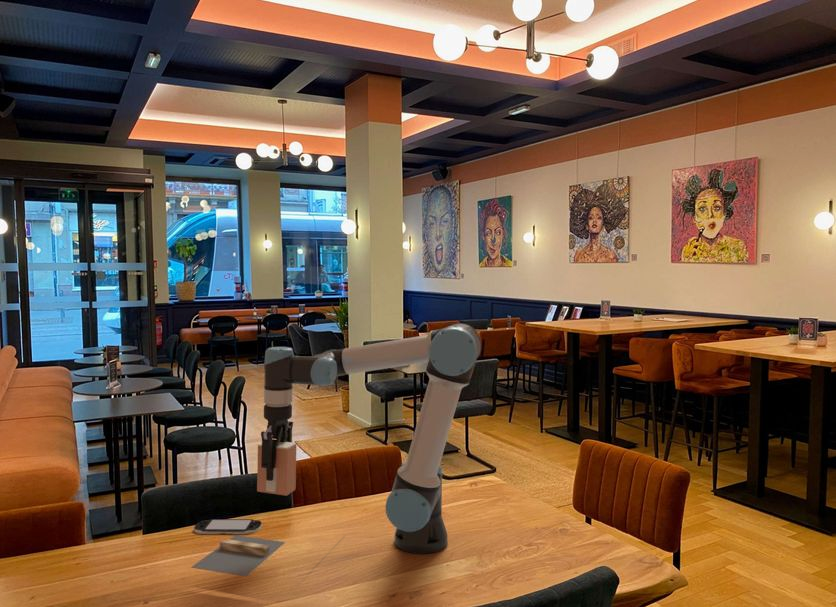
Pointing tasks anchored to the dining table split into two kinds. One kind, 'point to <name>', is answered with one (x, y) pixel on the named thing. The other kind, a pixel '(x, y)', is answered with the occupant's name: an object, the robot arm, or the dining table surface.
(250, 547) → the bar
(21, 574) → the dining table surface
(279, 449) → the block
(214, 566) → the mat
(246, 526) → the gaming console
